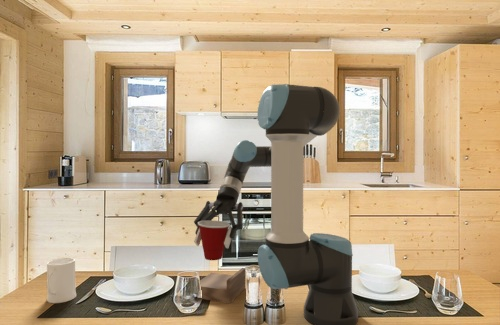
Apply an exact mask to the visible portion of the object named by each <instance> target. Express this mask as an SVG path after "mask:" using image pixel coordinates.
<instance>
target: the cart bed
mask: <svg viewBox="0 0 500 325" xmlns="http://www.w3.org/2000/svg"><path fill="white" fill-rule="evenodd" d="M199 281H200V283H201V290H202V299H201V300H207V301H213V302H220V303H224V304H225V303H226V304H231V303H232V302H233V301H234V300H236V298H238V296H240V295H241V294H242V293H243V292H244V290H246V267H245V268H244V267H242V268H240V269H238V271H237V272H235V273H234V274H233V275H231V274H224V273H215V272H210V273H209V274H208V275H206V276H205V277H203V278H202V279H200V280H199Z"/></svg>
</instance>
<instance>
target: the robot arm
mask: <svg viewBox="0 0 500 325" xmlns="http://www.w3.org/2000/svg"><path fill="white" fill-rule="evenodd" d="M340 108H341V107H340V103H339V101H338V99H337V97H336V95H335V94H333V93H332V91H330V90H328V89H326V88H324V87H322V86H309V85H299V84H288V83H284V84H283V83H282V84H281V83H279V84H270V85H269V86H268V87H266V89H264V91H263V93H262V94H261V96H260V100H259V102H258V107H257V121H258V126H259V127H260V128H261V129H263V130H265V137H266V138H267V139H268V140H269V141H270V143H271V144H270V145H269V146H259V145H258V146H257V145H256V143H254V142H253V141H249V140H246V139H245V140H240V141H239V142H238V143H237V144H236V146H235V148H234V150H233V152H232V156H231V159H230V161H229V163H228V164H227V168H226V171H225V174H224V177H223V179H222V182H221V184H220V186H219V190H218V192H217V195H216V200H215V201H213V202H210V201H209V200H207V201H206V202H205V206H204V207H203V208H202V210H201V211H200V212H199V214H198V215H197V217H196V218H195V219H194V221H193V223H194V225H195V226H196V230H195V238H194V240H193V242H194V243H195V245H196V246H197V247H199V246H200V244H201V242H202V240H201V233H200V229H199V225H198V222H199V221H207V220H212V221H213V220H214V218H215V217H217V216H219V215H228V218H229V221H230V226H229V227H228V230H227V233H226V238H225V241H224V248H225V249H229V247H230V245H231V241H232V240H233V239H234V238H235V236H236V234H237V233H236V232H237V231H238V230H239V231H241V230H243V228H244V225H243V224H244V222H243V211H244V208H245V207H244V204H243V202H241V201H239V203H238V200H239V197H240V193H241V191H242V188H243V187H242V186H243V183H244V181H245V178H246V175H247V173H248V171H249V169H250V168H254V167H255V168H259V167H262V168H263V167H264V168H265V167H267V168H268V167H270V168H271V169H270V174H271V175H270V177H271V178H270V180H271V182H270V188H271V190H270V192H271V193H270V195H271V196H270V197H271V198H270V199H271V200H270V201H271V202H270V204H271V206H270V208H271V210H270V214H271V217H270V221H271V222H270V223H271V224H270V225H271V226H270V228H271V229H270V231H269V232H268V233H267V234H266V235H265V244H262V245H260V246H259V247H258V250H257V264H258V268H259V271H260V274H261V275H260V276H261V277H262V279H263V281H264V283H265V284H266V285H267V286H268V287H269V288H270V289H272V290H281V289H284V290H288V289H290V288H296V287H303V286H309V290H308V293H307V297H306V298H305V302H304V305H303V316H304V319H305V320H306V321H307V322H309V323H311V324H312V325H356V324H358V321H359V310H358V307H357V304H356V300H355V296H354V294H353V287H352V286H353V278H352V277H353V256H354V254H353V247H352V243H351V241H350V240H349V239H348V238H346V237H343V236H341V235H340V236H339V235H335V234H330V233H323V232H321V233H320V232H318V233H317V232H315V233H311V234H310V235H309V236H308V235H307V234H306V233H305V231H304V147H305V146H306V145H307V144H309V143H310V142H311V141H313V140H314V139H315V138H317V137H320V136H324V135H326V134H327V133H328V132H330V131H331V130H332V129H333V128H334V127H335V126H336V125H337V122H338V121H339V118H340V114H341V112H340V111H341V109H340ZM235 209H236V215H237V216H236V219H237V220H236V221H235V217H234V214H233V212H232V211H234V210H235ZM236 223H237V224H236Z"/></svg>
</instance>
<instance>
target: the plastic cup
mask: <svg viewBox="0 0 500 325" xmlns="http://www.w3.org/2000/svg"><path fill="white" fill-rule="evenodd" d="M198 225H199V229H200V233H201V244H202V249H203V250H202V251H203V255H204V259H205V260H207V261H218V260H219V261H220V260H221V259H222V258H223V256H224V249H225V245H224V241H225V238H226V235H227V232H228V229H229V227H231V223H229V222H226V221H222V220H213V219H212V220H207V221H199V222H198Z"/></svg>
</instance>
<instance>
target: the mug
mask: <svg viewBox="0 0 500 325" xmlns="http://www.w3.org/2000/svg"><path fill="white" fill-rule="evenodd" d="M46 274H47V275H46V279H47V280H46V289H47V290H46V291H47V296H46V297H47V298H46V302H47V303H49V304H61V303H66V302H70V301H72V300H74V299H76V297H77V292H76V291H77V289H76V288H77V287H76V259H75V258H73V257H60V258H54V259H52V260H49V261H47V263H46Z"/></svg>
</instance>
